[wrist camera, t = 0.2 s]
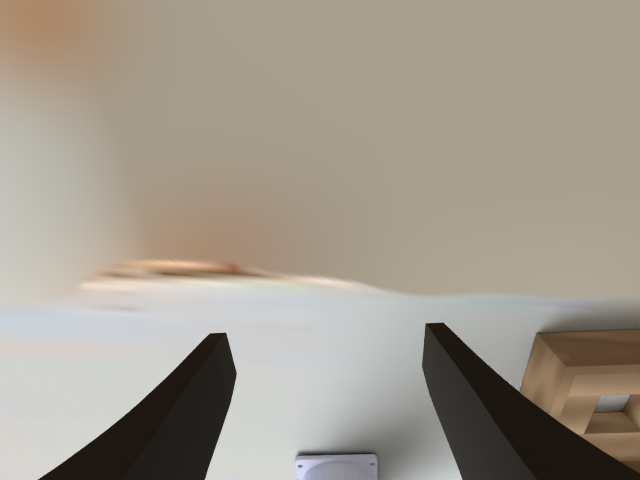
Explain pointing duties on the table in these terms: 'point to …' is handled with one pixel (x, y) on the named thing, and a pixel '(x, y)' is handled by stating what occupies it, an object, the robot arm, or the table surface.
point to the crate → (589, 386)
